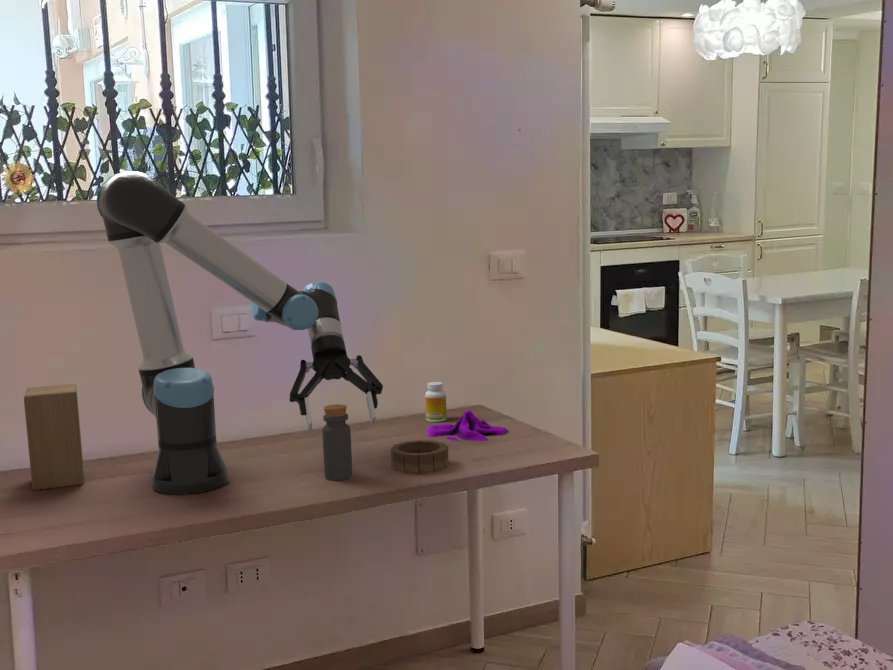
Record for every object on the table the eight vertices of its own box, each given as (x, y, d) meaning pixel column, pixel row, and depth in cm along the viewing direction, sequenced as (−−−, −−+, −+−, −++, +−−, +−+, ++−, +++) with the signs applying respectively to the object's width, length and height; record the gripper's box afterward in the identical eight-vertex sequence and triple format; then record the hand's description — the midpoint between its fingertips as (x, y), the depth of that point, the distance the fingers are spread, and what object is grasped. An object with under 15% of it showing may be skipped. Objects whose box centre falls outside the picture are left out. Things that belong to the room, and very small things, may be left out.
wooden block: (34, 478, 208) (25, 387, 205) (84, 472, 211) (76, 383, 208) (32, 491, 199) (23, 396, 196) (84, 485, 202) (76, 391, 199)
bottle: (319, 478, 201) (315, 408, 199) (335, 471, 206) (331, 402, 204) (342, 482, 198) (339, 410, 196) (358, 474, 203) (354, 404, 201)
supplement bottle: (446, 422, 248) (445, 385, 246) (425, 422, 248) (424, 385, 246) (447, 417, 253) (445, 380, 252) (426, 417, 253) (425, 381, 252)
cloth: (412, 434, 238) (411, 409, 238) (471, 421, 249) (470, 398, 249) (468, 451, 221) (467, 425, 220) (528, 437, 232) (528, 412, 231)
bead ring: (398, 475, 201) (397, 457, 201) (387, 461, 213) (386, 443, 212) (454, 469, 204) (453, 451, 204) (439, 455, 216) (439, 438, 215)
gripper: (379, 348, 223) (397, 426, 211) (270, 357, 216) (282, 438, 204) (383, 329, 217) (401, 408, 205) (271, 337, 210) (283, 420, 199)
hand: (342, 423), depth 205 cm, fingers open, 13 cm apart
